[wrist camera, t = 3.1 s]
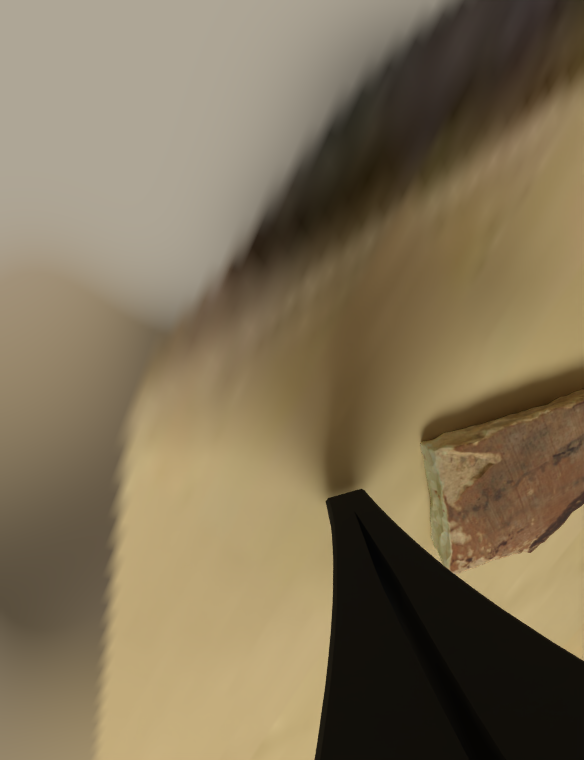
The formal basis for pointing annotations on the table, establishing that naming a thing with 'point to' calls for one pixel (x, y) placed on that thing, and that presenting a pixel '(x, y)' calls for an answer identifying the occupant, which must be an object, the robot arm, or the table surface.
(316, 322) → the table surface
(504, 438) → the shard
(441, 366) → the table surface
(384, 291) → the table surface
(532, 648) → the robot arm
